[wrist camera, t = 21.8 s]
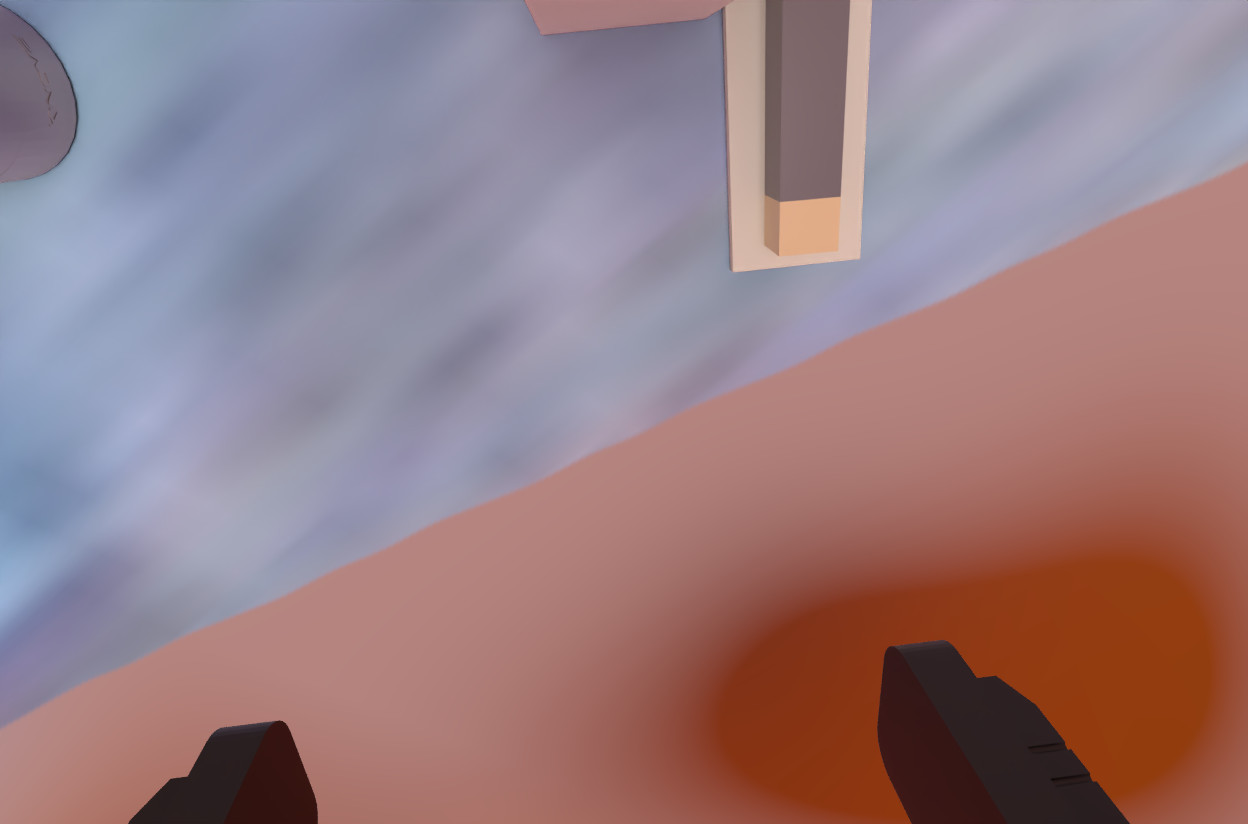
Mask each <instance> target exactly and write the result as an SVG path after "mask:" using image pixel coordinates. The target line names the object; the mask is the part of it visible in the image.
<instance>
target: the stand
mask: <svg viewBox="0 0 1248 824" xmlns="http://www.w3.org/2000/svg"><path fill="white" fill-rule="evenodd" d="M524 1H525V3H526V5H527V7H528V9H529V11H530V13H531V15H532V17H533V19H534V21H535V23H536V25H537V27H538V29H539V31H540V33H541V35H549V34H559V33H569V32H579V31H589V30H599V29H609V28H619V27H629V26H639V25H649V24H659V23H670V22H680V21H690V20H700V19H706V18H707V17H709V16H710V15H712V14H713V13H715V12H717V11H718V10H720V9H721V8H723V7H724V6H726V5H728V4H729V3H731V2H732V1H734V0H524Z"/></svg>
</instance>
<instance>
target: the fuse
mask: <svg viewBox="0 0 1248 824" xmlns="http://www.w3.org/2000/svg"><path fill="white" fill-rule="evenodd" d="M849 16H850V0H766V29H765V218H764V245H765V246H766V247H767V248H769V249H770V250H771V251H773V252H774V253H775V254H776V255H778V256H779V257H780V256H791V255H802V254H812V253H823V252H834V251H838V243H839V222H840V202H841V181H842V160H843V140H844V119H845V99H846V78H847V57H848V37H849Z"/></svg>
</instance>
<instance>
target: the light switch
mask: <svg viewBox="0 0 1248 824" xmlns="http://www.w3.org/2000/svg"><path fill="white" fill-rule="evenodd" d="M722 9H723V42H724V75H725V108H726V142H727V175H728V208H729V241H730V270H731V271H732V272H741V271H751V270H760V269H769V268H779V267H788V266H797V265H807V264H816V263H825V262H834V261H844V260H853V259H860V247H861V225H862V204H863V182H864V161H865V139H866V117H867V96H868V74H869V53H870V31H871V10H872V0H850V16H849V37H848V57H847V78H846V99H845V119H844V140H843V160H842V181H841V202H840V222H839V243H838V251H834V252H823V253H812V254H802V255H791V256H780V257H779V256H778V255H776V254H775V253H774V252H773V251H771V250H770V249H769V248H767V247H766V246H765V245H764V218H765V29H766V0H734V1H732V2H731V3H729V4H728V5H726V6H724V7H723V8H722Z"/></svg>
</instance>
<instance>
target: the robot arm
mask: <svg viewBox="0 0 1248 824" xmlns="http://www.w3.org/2000/svg"><path fill="white" fill-rule="evenodd" d="M75 127H76V107H75V100H74V96H73V92H72V89H71V85H70V82H69V80H68V78H67V76H66V73H65V71H64V69H63V67H62V65H61V63H60V61H59V60H58V58H57V57H56V56H55V54H54V53H53V51H52V50H51V48H50V47H49V46H48V44H47V43H46V42H45V41H44V40H43V39H42V38H41V37H40V36H39V34H38V33H37V32H36V31H35V30H34V29H33V28H32V27H31V26H30V25H28V24H27V23H26V22H25V21H23V20H22V19H21V18H19V17H18V16H17V15H15V14H14V13H13V12H11V11H10V10H8V9H6V8H4V7H2V6H0V183H5V182H12V181H19V180H26V179H30V178H33V177H36V176H39V175H42V174H45V173H46V172H48V171H49V170H51V169H52V168H53V167H55V166H56V165H58V163H59V162H60V161H61V160H62V159H63V157H64V156H65V155H66V154H67V152H68V150H69V148H70V145H71V143H72V141H73V139H74V133H75ZM877 729H878V730H877V731H878V742H879V747H880V752H881V756H882V759H883V763H884V766H885V768H886V771H887V774H888V776H889V778H890V780H891V782H892V784H893V786H894V788H895V790H896V793H897V795H898V797H899V799H900V801H901V803H902V805H903V807H904V809H905V811H906V813H907V815H908V817H909V819H910V821H911V823H912V824H1130V823H1129V822H1128V821H1127V819H1126V818H1125V817H1124V816H1123V815H1122V813H1121V812H1120V811H1119V809H1118V808H1117V807H1116V806H1115V804H1114V803H1113V802H1112V801H1111V799H1110V798H1109V797H1108V795H1107V794H1106V793H1105V792H1104V791H1103V789H1102V788H1101V787H1100V785H1099V784H1098V783H1097V782H1093V781H1092V779H1091V777H1090V773H1089V771H1088V770H1087V769H1086V768H1085V766H1084V765H1083V764H1082V763H1081V761H1080V760H1079V759H1078V758H1077V756H1076V755H1075V754H1074V753H1073V751H1072V750H1071V749H1070V750H1068V749H1067V748H1066V746H1065V741H1064V740H1063V739H1062V737H1061V736H1060V735H1059V734H1058V732H1057V731H1056V730H1055V729H1054V727H1053V726H1052V725H1051V724H1050V722H1049V721H1048V720H1047V718H1046V717H1045V716H1044V715H1043V713H1042V712H1041V711H1040V710H1039V708H1038V707H1037V706H1036V705H1035V704H1034V703H1032V702H1031V701H1030V700H1028V699H1027V698H1026V697H1024V696H1023V695H1021V694H1020V693H1018V692H1017V691H1016V690H1015V689H1013V688H1012V687H1010V686H1009V685H1008V684H1006V683H1005V682H1003V681H1002V680H1001V679H1000V678H998V677H997V676H990V677H983V678H977V677H976V676H975V675H974V673H973V672H972V671H971V669H970V668H969V666H968V665H967V664H966V662H965V661H964V660H963V658H962V657H961V655H960V654H959V653H958V651H957V650H956V649H955V648H954V646H953V645H951V644H950V643H949V642H948V641H945V640H938V641H930V642H923V643H914V644H907V645H899V646H890V647H888V648H887V650H886V652H885V656H884V664H883V674H882V684H881V694H880V705H879V715H878V726H877ZM128 824H318V811H317V803H316V799H315V795H314V793H313V790H312V787H311V785H310V782H309V779H308V777H307V774H306V772H305V769H304V766H303V764H302V761H301V758H300V756H299V753H298V750H297V748H296V745H295V743H294V740H293V737H292V735H291V732H290V730H289V728H288V726H287V725H286V723H284V722H283V721H272V722H264V723H257V724H248V725H240V726H232V727H224V728H220V729H218V730H216V731H215V732H214V733H213V734H212V735H211V736H210V738H209V739H208V741H207V742H206V744H205V746H204V748H203V750H202V752H201V753H200V755H199V757H198V759H197V761H196V762H195V764H194V766H193V768H192V770H191V771H190V773H189V775H188V777H181V778H173V779H170V780H169V781H168V782H167V783H166V784H165V785H164V786H163V787H162V788H161V789H160V790H159V791H158V792H157V793H156V794H155V795H154V796H153V797H152V798H151V799H150V800H149V801H148V803H147V804H146V805H145V806H144V807H143V808H142V809H141V810H140V811H139V812H138V813H137V814H136V815H135V816H134V817H133V818H132V819H131V820H130V821H129V823H128Z"/></svg>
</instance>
